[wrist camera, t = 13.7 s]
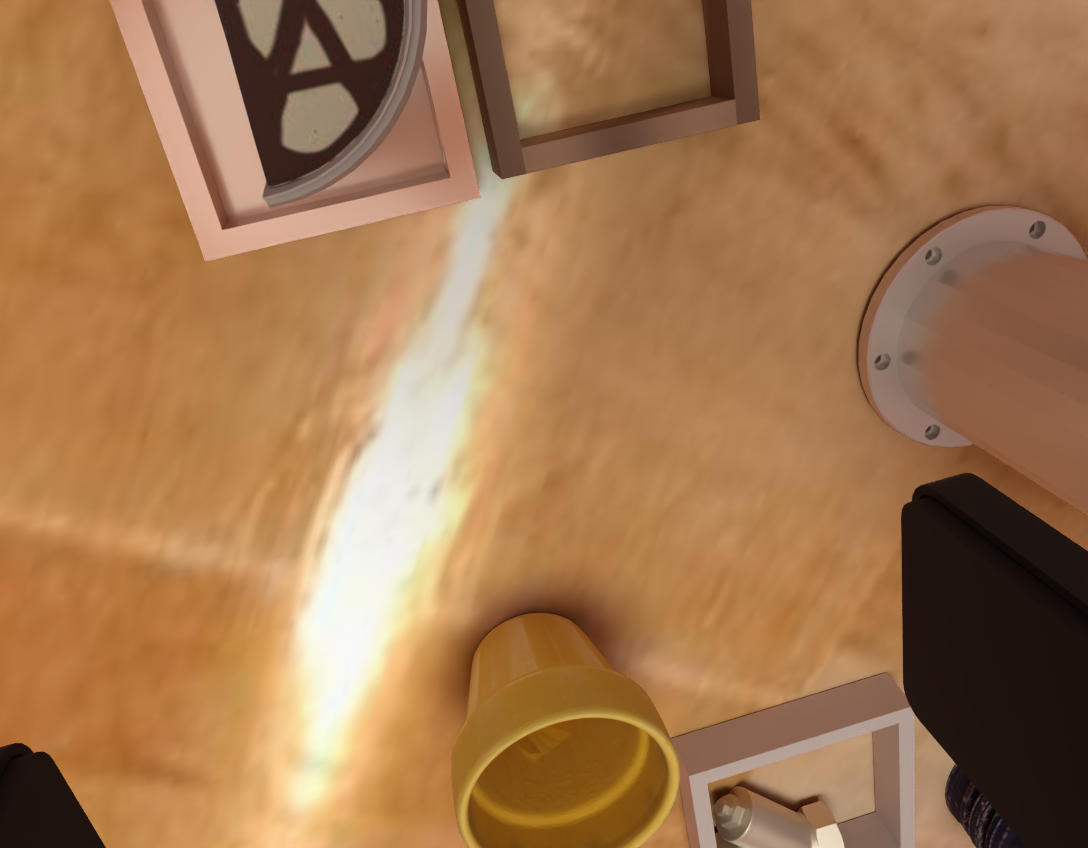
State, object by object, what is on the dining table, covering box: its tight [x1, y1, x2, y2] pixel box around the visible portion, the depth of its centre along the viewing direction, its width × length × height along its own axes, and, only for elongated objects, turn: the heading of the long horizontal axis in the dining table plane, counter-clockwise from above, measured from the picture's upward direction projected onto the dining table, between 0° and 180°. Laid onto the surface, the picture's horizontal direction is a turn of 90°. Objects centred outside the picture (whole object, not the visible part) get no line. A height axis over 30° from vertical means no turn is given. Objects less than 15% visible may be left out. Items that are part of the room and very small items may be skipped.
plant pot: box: [451, 613, 680, 848], centre depth 43 cm, size 10×10×10 cm
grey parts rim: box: [671, 673, 915, 848], centre depth 54 cm, size 14×13×3 cm
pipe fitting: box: [714, 786, 845, 848], centre depth 54 cm, size 8×4×7 cm
